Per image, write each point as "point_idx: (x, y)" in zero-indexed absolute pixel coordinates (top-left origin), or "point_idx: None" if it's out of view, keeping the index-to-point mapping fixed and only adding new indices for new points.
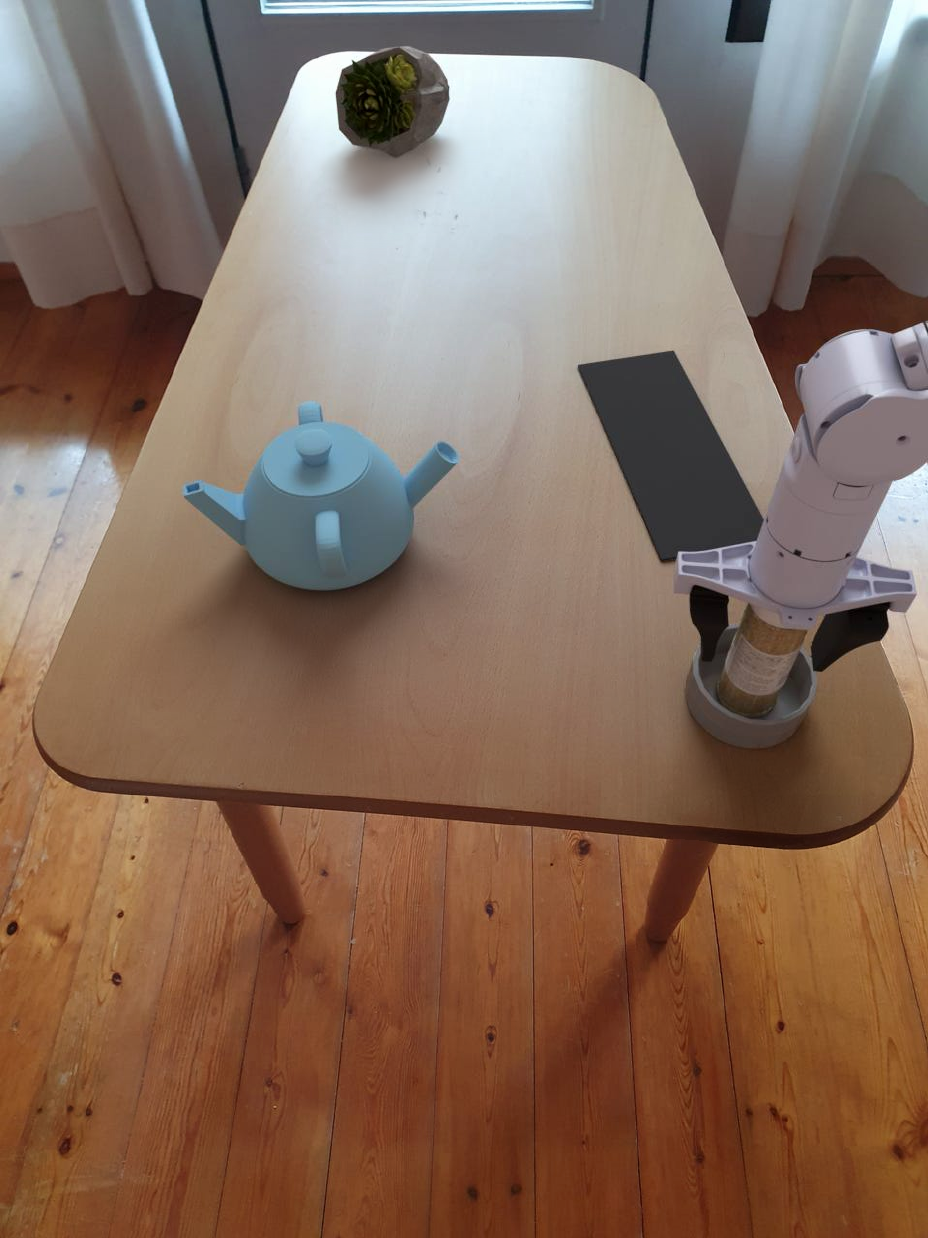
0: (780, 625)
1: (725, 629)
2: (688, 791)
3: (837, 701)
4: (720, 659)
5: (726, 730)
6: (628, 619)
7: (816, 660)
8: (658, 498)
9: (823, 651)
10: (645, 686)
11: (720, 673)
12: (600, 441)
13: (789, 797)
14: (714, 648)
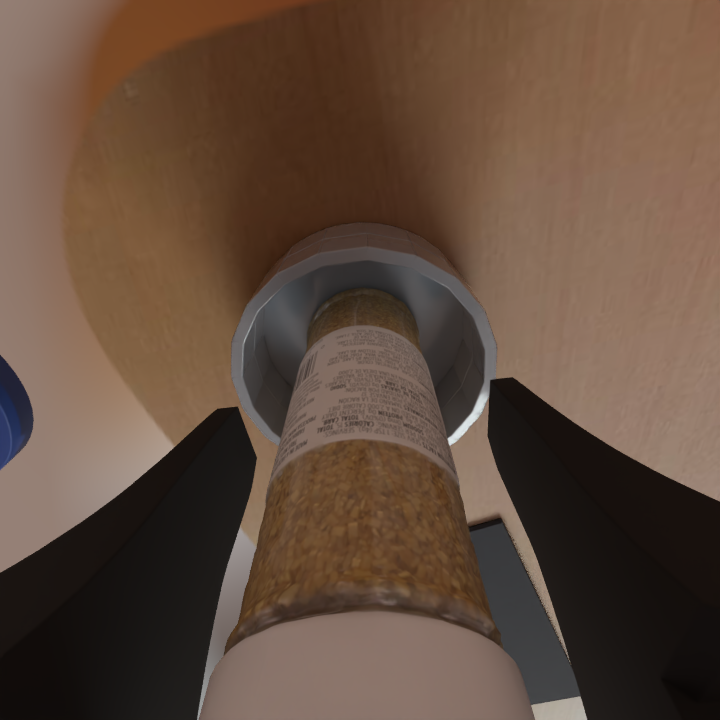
0: (380, 638)
1: None
2: (469, 68)
3: (206, 359)
4: None
5: (403, 237)
6: None
7: (231, 436)
8: (501, 590)
9: (210, 470)
10: (545, 314)
11: None
12: None
13: (244, 118)
14: (533, 421)
